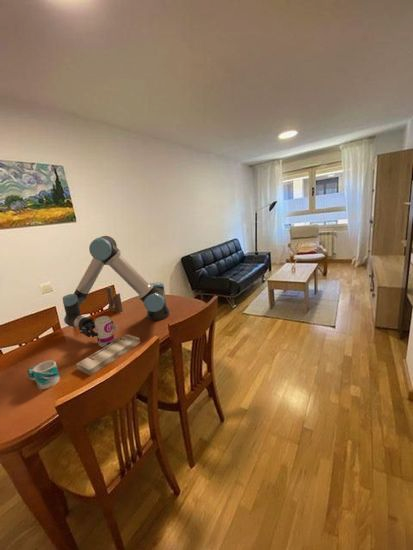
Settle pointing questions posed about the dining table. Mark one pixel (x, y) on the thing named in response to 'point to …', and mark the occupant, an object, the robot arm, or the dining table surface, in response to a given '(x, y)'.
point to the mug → (44, 374)
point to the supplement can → (104, 330)
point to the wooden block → (114, 301)
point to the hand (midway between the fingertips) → (110, 331)
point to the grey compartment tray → (107, 354)
